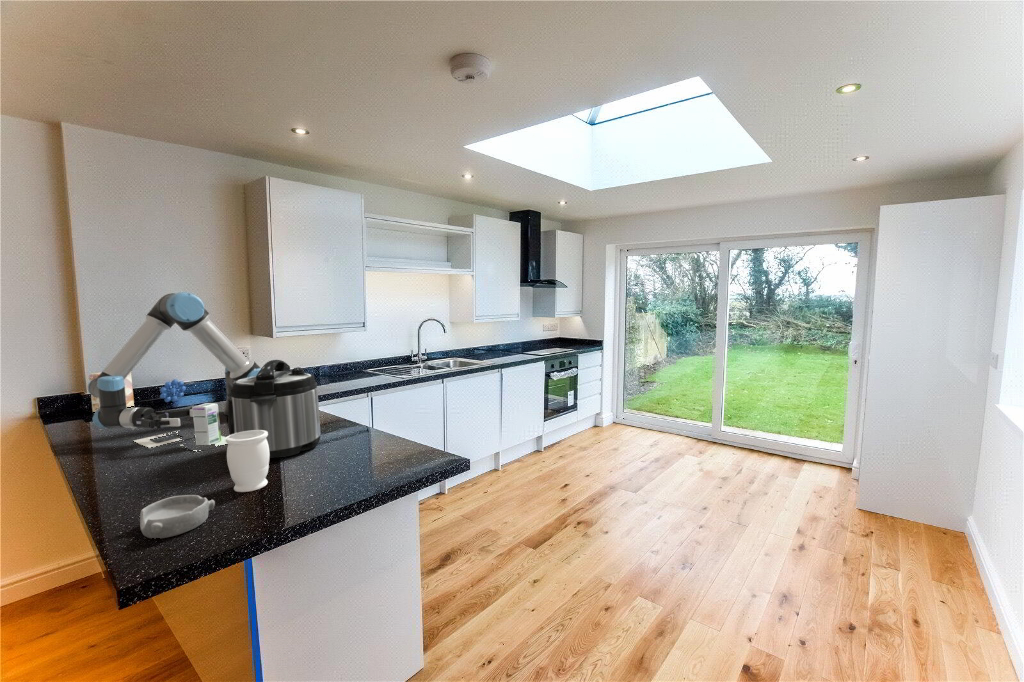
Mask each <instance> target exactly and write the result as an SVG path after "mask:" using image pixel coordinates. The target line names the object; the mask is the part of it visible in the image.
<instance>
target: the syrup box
mask: <svg viewBox="0 0 1024 682" xmlns="http://www.w3.org/2000/svg"><path fill="white" fill-rule="evenodd" d="M191 407H192V410H193V426H194V435H195V438H194V439H195V441H196V445H211V444H214V443H217V442H219V441H221V436H222V433H221V424H220V415H219V414H220V413H219V412H220V411H219V405H218V403H215V402H205V403H202V404H199V405H195V406H191Z"/></svg>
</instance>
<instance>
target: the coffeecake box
mask: <svg viewBox="0 0 1024 682" xmlns="http://www.w3.org/2000/svg"><path fill="white" fill-rule="evenodd" d="M101 373H102V371H100V372H92V373H89V374H88V377H89V378H88V379H89V382H90V381H92V380H93V379H96V378H97V377H98V376H99V375H100V374H101ZM132 377H133V376H132V371H131V372H130V373H129V375H128V376H127V377H126V378H125V379H124V383H125V396H126V407H131V406H134V407H135V404H134V403H135V399H134V390H133V389H134V388H133V380H132ZM90 398H91V409H92V413H93V412H96V411H97V410H98V409H100V402H99V398H96V397H94V396H93V395H91V394H90ZM131 408H132V407H131Z"/></svg>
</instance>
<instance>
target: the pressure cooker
mask: <svg viewBox="0 0 1024 682" xmlns="http://www.w3.org/2000/svg"><path fill="white" fill-rule="evenodd" d="M260 368H261V369H260V371H259V372H258V374H257V376H252V377H248V378H244V379H240V380H237V381H234V382H233V383H232V385H233V389H232V390H231V398H230V399H228V415H227V417H228V422H227V423H228V424H227V425H228V432H229V433H228V434H229V435H232V434H235V433H239V432H243V431H250V430H265V431H267V432H268V436H267V437H266V439H267V442H268V446H269V453H270V457H269V459H270V458H271V459H272V458H273V459H274V458H282V457H283V458H284V457H290V456H294V455H297V454H299V453H300V452H303V451H308V450H311V449H313V448H316V447H317V445H319V443H320V440H321V424H320V423H321V422H320V410H319V409H320V408H319V395H318V393H319V392H318V384H317V381H315V375H314V374H312V373H306V372H305V369H304V368H303V367H299V366H298V367H294V368H292V369H291V365H289V364H288V363H287V362H286V361H284V360H282V359H272V360H269V361H267V362H265V364H263V366H262V367H260Z"/></svg>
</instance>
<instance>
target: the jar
mask: <svg viewBox="0 0 1024 682" xmlns="http://www.w3.org/2000/svg"><path fill="white" fill-rule="evenodd" d="M267 436H268V432H267V431H265V430H250V431H243V432H239V433H235V434H232V435H230V434H229V435H228V436H225V437H226V442H227V443H228V445H227V448H226V461H227V466H228V470H229V474H230V477H231V480H232V481H233V483H234V484H235V485H234V486H233V490H234V491H235V492H237V493H246V492H253V491H256V490H260V489H262V488H264V487H266V486H267V485H268V482H269V481H268V479H267V475H268V473H269V467H270V465H269V464H270V458H269V457H270V453H269V446H268V442H267V439H266V437H267Z"/></svg>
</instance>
